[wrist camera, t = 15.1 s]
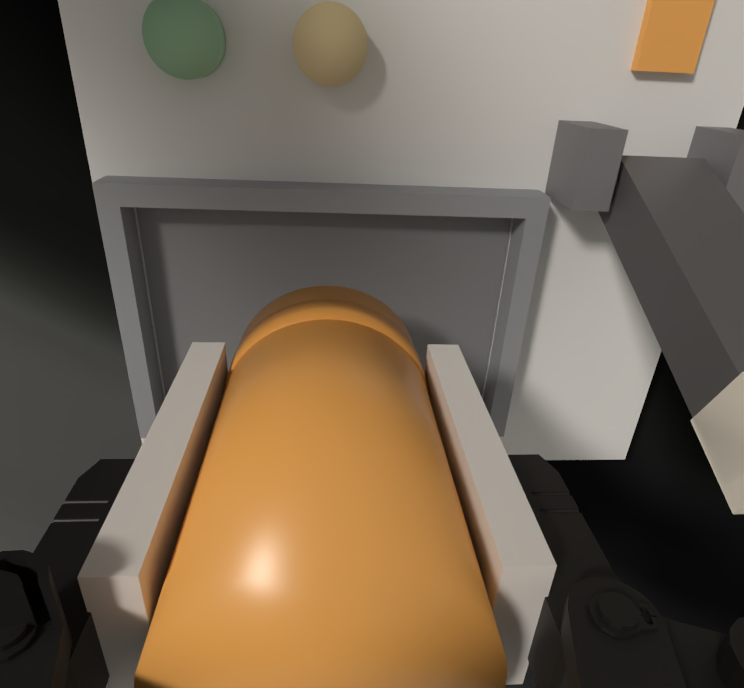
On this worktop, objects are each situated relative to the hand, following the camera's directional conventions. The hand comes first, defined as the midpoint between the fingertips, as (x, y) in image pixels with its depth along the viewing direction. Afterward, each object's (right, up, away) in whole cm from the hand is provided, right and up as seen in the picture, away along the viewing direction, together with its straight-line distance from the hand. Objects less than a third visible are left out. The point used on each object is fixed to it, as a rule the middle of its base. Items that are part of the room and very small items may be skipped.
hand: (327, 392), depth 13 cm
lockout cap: (0, +1, +1) cm, 1 cm away
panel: (+2, +5, +5) cm, 7 cm away
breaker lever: (+9, +6, +2) cm, 11 cm away
